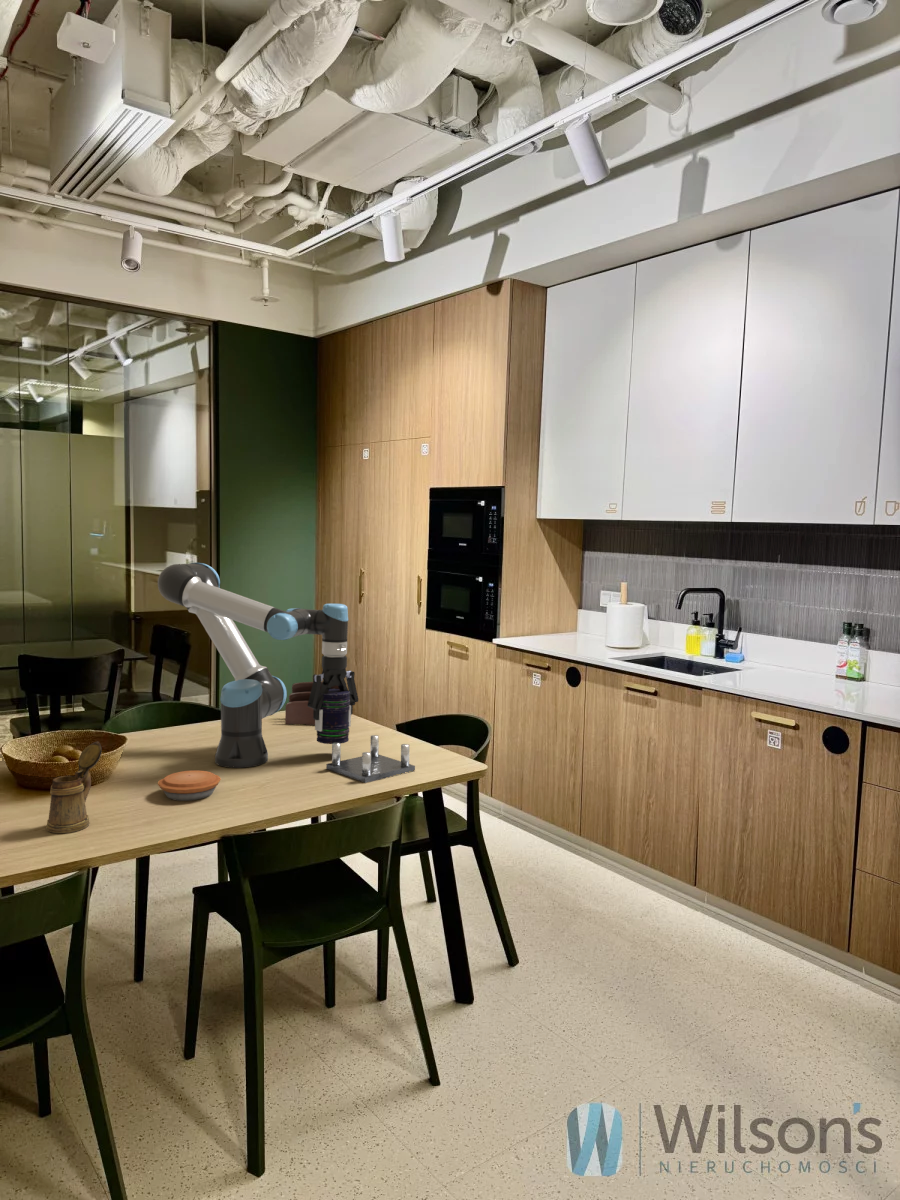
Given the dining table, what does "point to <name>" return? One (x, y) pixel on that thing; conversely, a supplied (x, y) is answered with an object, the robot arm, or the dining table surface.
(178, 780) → the pie
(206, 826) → the dining table surface
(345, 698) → the storage jar
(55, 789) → the wooden mug
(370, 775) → the post base
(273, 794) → the dining table surface
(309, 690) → the letter holder
